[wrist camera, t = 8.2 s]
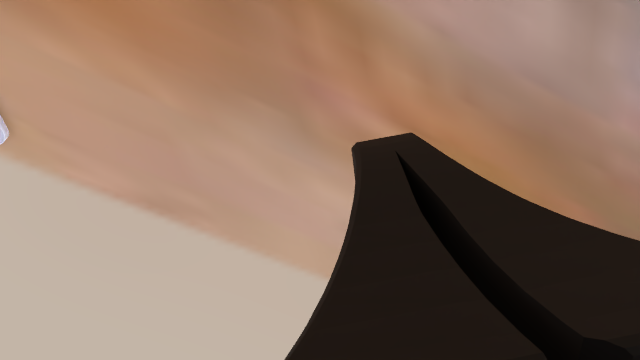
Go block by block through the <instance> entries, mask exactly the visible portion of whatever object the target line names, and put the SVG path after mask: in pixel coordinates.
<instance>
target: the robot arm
mask: <svg viewBox="0 0 640 360" xmlns="http://www.w3.org/2000/svg"><path fill="white" fill-rule="evenodd" d="M8 136H9V131H8V128H7V126H6V124H5V123H4V121H3V119H2V117H1V115H0V144H2V143H3V142H4V141H5V140H6V139H7V138H8ZM352 157H353V165H354V174H355V193H354V200H353V205H352V210H351V215H350V220H349V225H348V229H347V232H346V236H345V239H344V243H343V246H342V249H341V252H340V255H339V257H338V260H337V263H336V265H335V268H334V270H333V273H332V275H331V278H330V280H329V282H328V285H327V287H326V289H325V291H324V293H323V295H322V297H321V299H320V301H319V303H318V305H317V307H316V308H315V310H314V312H313V314H312V316H311V318H310V320H309V322H308V324H307V326H306V327H305V329H304V331H303V332H302V334H301V336H300V337H299V338H298V340H297V342H296V343H295V345H294V346H293V348H292V349H291V351H290V352H289V354H288V355H287V357H286V358H285V360H640V241H638V240H635V239H631V238H628V237H624V236H621V235H618V234H614V233H611V232H609V231H606V230H603V229H600V228H597V227H594V226H591V225H588V224H585V223H582V222H579V221H576V220H574V219H571V218H568V217H566V216H563V215H560V214H558V213H556V212H553V211H551V210H548V209H546V208H544V207H541V206H539V205H537V204H534V203H532V202H530V201H528V200H525V199H523V198H521V197H519V196H517V195H515V194H513V193H511V192H509V191H507V190H505V189H503V188H501V187H500V186H498V185H496V184H494V183H492V182H490V181H488V180H486V179H485V178H483V177H481V176H479V175H478V174H476V173H474V172H473V171H471V170H469V169H467V168H466V167H464V166H463V165H461V164H459V163H458V162H456V161H455V160H453V159H451V158H450V157H448V156H447V155H445V154H444V153H442V152H441V151H439V150H438V149H436V148H435V147H433V146H432V145H430V144H429V143H427V142H426V141H424V140H423V139H421V138H420V137H418V136H416V135H415V134H413V133H406V134H401V135H395V136H390V137H384V138H379V139H373V140H368V141H363V142H357V143H356V144H355V145H354V146H353V147H352Z"/></svg>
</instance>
